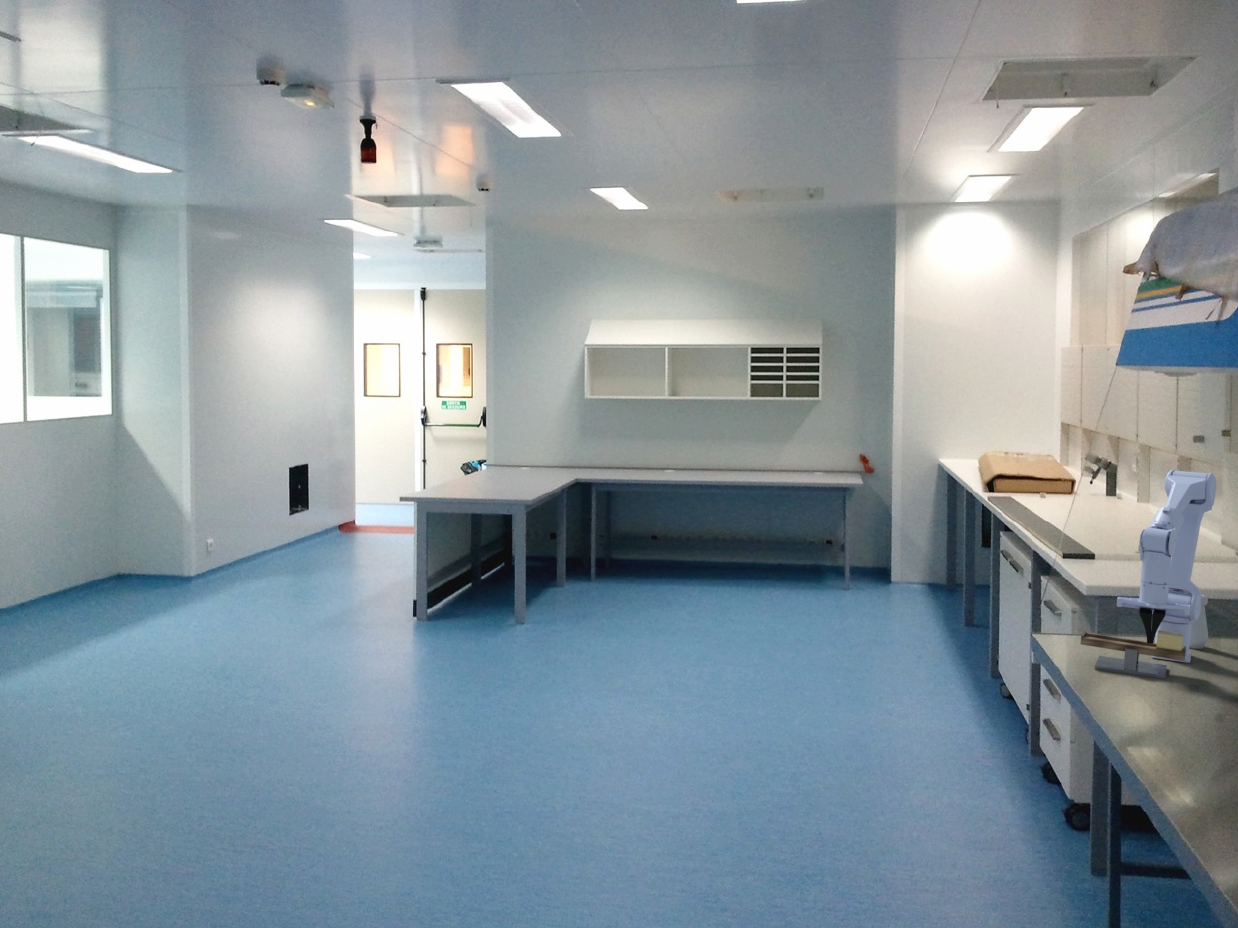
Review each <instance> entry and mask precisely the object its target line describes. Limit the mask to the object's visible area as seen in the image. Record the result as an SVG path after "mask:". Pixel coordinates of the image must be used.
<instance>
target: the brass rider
mask: <svg viewBox="0 0 1238 928" xmlns="http://www.w3.org/2000/svg"><path fill="white" fill-rule="evenodd" d="M1183 636H1184V633H1177V632H1170V631H1164V630H1158V636H1157V645H1156V649H1162V650H1169V651H1175V652H1181V653H1182V645H1183Z"/></svg>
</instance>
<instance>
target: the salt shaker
mask: <svg viewBox="0 0 1238 928" xmlns="http://www.w3.org/2000/svg"><path fill="white" fill-rule="evenodd" d="M1191 595H1192V594H1191ZM1208 600H1209V599H1208V596H1206V595H1205V594H1202V596H1201V611H1200V615H1199V618H1198V619H1197V620H1196V621H1195V622H1191V634H1190V647H1189V649H1194V650H1195V649H1197V650H1201V649H1204V648H1205V646H1206V644H1207V643H1208V642H1209V638H1210V637H1209V632H1208V631H1209V629H1208V624H1207V623H1208V622H1207V615H1206V606H1207V605H1208V602H1209V601H1208Z"/></svg>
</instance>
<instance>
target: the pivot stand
mask: <svg viewBox="0 0 1238 928" xmlns="http://www.w3.org/2000/svg"><path fill="white" fill-rule="evenodd" d="M1096 660H1097V661H1096V662H1095V665H1094V670H1098V671H1099V670H1100V671H1107V672H1112V673H1113V672H1114V673H1121V674H1127V675H1134V676H1141V677H1146V678H1147V677H1148V678H1154V679H1160V680H1165V679H1166V674H1167V669H1168V665H1167V664H1160V663H1153V662H1147V661H1140V654H1137V650H1136V649H1129V648H1125V651H1124V658H1120V657H1119V658H1118V657H1113V656H1112V657H1111V656H1104V655H1099V656H1098V658H1097V659H1096Z"/></svg>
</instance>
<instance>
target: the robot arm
mask: <svg viewBox="0 0 1238 928" xmlns="http://www.w3.org/2000/svg"><path fill="white" fill-rule="evenodd" d="M1164 484H1165V485H1164V490H1165V493H1166V496H1167V499H1166V503H1165V506H1162V507H1160V508H1159V509H1158V510H1156V513H1155V516H1154V517H1153V519H1152V521H1151V523H1150V525H1149V526H1148V527H1146V529H1142V530H1141V533H1140V535H1139V540H1138V541H1139V545H1138V546H1139V552H1140V554H1139V558H1140V561H1141V568H1140V569H1141V571H1140V583H1139V584H1140V585H1139V597H1124V596H1123V597H1122V596H1117V598H1116V607H1118V608H1122V607H1124V608H1131V609H1139V611H1138V614H1139V616H1140V618H1141V621H1142V624H1143V627H1144V632H1145V634H1146V642H1147V643H1152V644H1153V643H1157V636H1158V630H1164V631H1170V632H1177V633H1184V636H1183V645H1182V647H1183V648H1184V646H1186V654H1185V661H1181V660H1174V659H1168V658H1162V657H1156V656H1151V658H1152V659H1160V660H1165V661H1166V660H1167V661H1174V662H1179V663H1187V664H1189V663H1191V659H1192V658H1191V657H1192V652H1190V648H1189V647H1190V634H1191V622H1195V621H1196V620H1197V619H1198V618H1199V615H1200V611H1201V596H1202V595H1203V594H1202V592H1201V589H1200V588H1199V586H1197V585H1196V584H1195V583H1194V582H1193V581H1192V580H1191V579H1192V574H1193V567H1194V563H1195V562H1194V561H1195V558H1196V557H1195V556H1196V551H1197V546H1198V540H1199V536H1200V529H1201V525H1202V524H1201V523H1202V519H1203V517H1204V514H1206V513H1207V512H1209V511H1212V510H1213V506H1214V504H1215V499H1216V498H1215V497H1216V492H1217V477H1216V475H1215V474H1214V473H1213V472H1208V473H1207V472H1199V471H1198V472H1197V471H1196V472H1195V471H1183V470H1176V469H1171V470H1169V472H1168V473H1167V474H1166V476H1165V482H1164ZM1191 594H1192V595H1191Z"/></svg>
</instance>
